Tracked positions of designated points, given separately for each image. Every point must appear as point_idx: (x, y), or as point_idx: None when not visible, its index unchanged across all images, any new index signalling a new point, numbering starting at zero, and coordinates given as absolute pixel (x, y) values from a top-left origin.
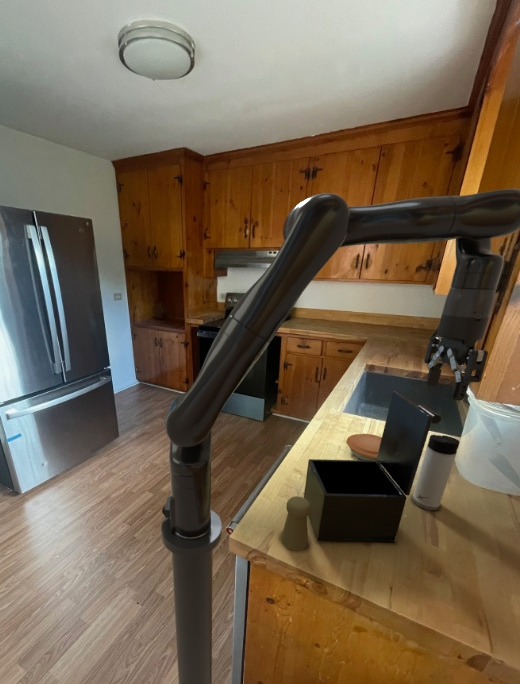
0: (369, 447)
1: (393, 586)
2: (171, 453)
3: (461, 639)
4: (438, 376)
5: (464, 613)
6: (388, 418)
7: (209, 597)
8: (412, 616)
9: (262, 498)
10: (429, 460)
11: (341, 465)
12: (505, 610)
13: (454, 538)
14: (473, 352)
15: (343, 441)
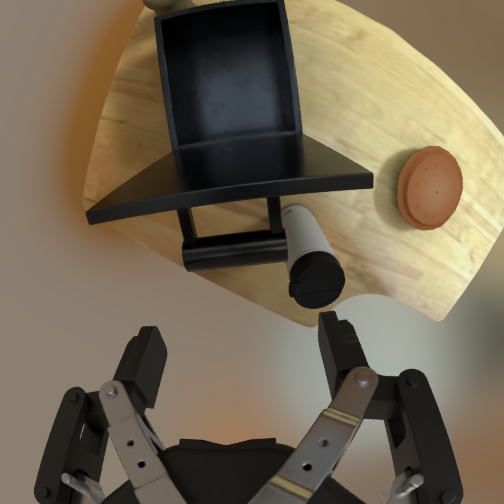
0: (420, 179)
1: (124, 125)
2: None
3: (86, 176)
4: (326, 370)
5: (111, 189)
6: (322, 150)
7: None
8: (95, 137)
9: None
10: (301, 241)
11: (284, 59)
12: (126, 230)
13: (220, 227)
14: (38, 495)
15: (456, 155)
